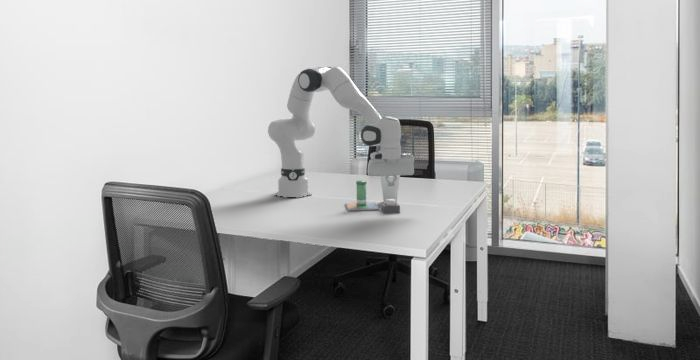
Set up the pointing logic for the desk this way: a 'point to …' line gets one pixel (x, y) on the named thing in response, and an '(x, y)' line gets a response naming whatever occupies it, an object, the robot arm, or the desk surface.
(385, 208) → the button collar
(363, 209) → the picture board
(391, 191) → the translucent tapered cup
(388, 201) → the button
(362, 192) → the green canister
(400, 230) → the desk surface
